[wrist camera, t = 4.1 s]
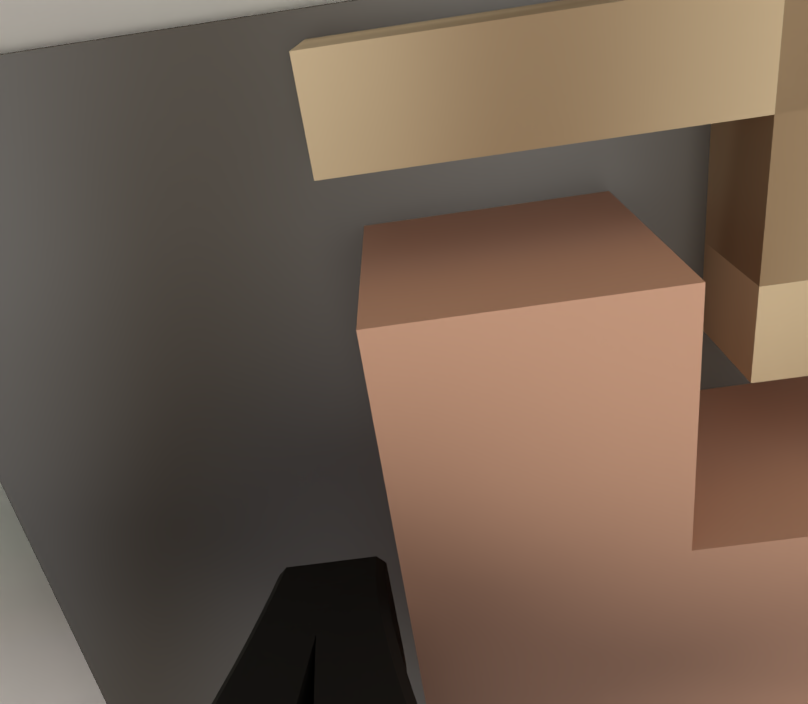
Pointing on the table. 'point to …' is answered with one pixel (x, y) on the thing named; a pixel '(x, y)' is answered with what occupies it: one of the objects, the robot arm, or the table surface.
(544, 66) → the t frame
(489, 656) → the t block
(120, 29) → the table surface
